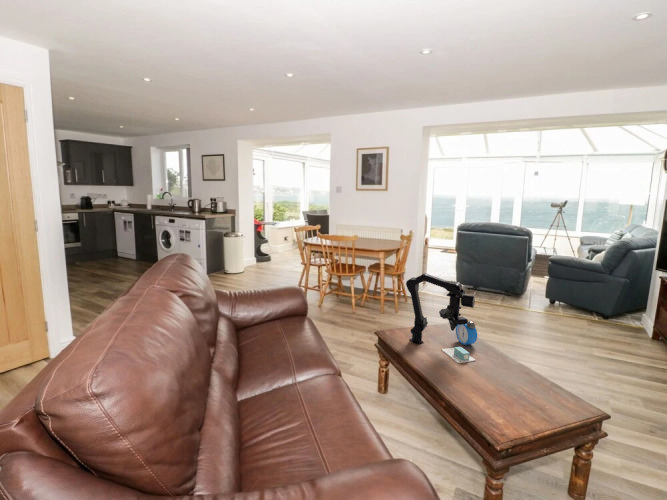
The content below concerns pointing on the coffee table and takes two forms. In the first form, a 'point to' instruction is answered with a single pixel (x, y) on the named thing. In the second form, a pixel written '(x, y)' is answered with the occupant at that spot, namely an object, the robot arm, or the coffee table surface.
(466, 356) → the block
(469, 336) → the alarm clock
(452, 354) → the mat
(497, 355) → the coffee table surface
